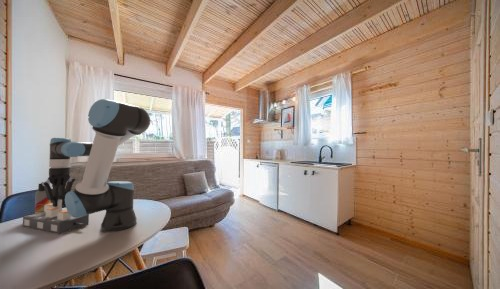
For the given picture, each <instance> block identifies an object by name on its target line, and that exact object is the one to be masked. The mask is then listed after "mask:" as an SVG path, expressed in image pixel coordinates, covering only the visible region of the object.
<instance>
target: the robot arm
mask: <svg viewBox="0 0 500 289" xmlns="http://www.w3.org/2000/svg"><path fill="white" fill-rule="evenodd" d="M87 115H88V118H87V119H88V123H89V124H90V126H92V128H91V129H92V130H93V131H94V132H95V133H94V134H95V135H94V138H93V142H90V141H89V142H85V141H72V139H71V138H66V137H65V138H64V137H51V138H50V142H49V159H48V160H49V162H48V163H49V165H48V166H49V168H48V177H47V179H46V180H45V181H43V182H41V183H40V184H42V185H43V186H44V189H45V192H46V196H47V199H48V200H50V201H52V203H53V207H55V208H58V209H59V211H62V208H63V206H64V204H65V208H66V209H65V210H67V211H68V213H69V214H70V215H71V216H72V217H81V216H86V215H89V216H90V215H92V214H95V213H99V212H103V211H105V214H104V216H103V219H102V222H101V224H100V230H101V232H108V233H112V232H118V231H123V230H127V229H130V228H131V227H133V226H134V225H136V224H137V215H136V213H135V210H134V195H135V194H134V193H135V192H134V191H135V186H134V185H135V184H134V183H133V182H132V181H127V180H125V181H123V180H114V181H108V180H109V179H108V178H109V175H110V173H111V170H112V166H113V162H114V161H115V160H114V159H115V158H116V153H117V150H118V146H120V145H122V144H124V143H125V142H127V141H128V140H130V139H132V138H133V137H135V136H139V135H141V134H143V133H145V132H146V131H147V130H148V129H149V127H150V126H151V118H150V117H151V116H150V114H149V113H148V112H147V110H145V109H144V108H142V107H141V106H138V105H133V104H129V103H125V102H120V101H117V100H113V99H111V100H110V99H105V98H101V99H98V100H96V101H95V102H94V103H93V104H92V105H91V106H90V108H89V110H88V114H87ZM77 157H88V159H87V161H86V165H85V170H84V172H83V175H82V176H83V177H82V179H81V181H79V182H78V183H77V184H75V187H74V189H73V190H72V188H73V184H74V182H76V178H72V177H71V176H70V173H71V168H70V166H71V158H77ZM51 185H52V186H51Z"/></svg>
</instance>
